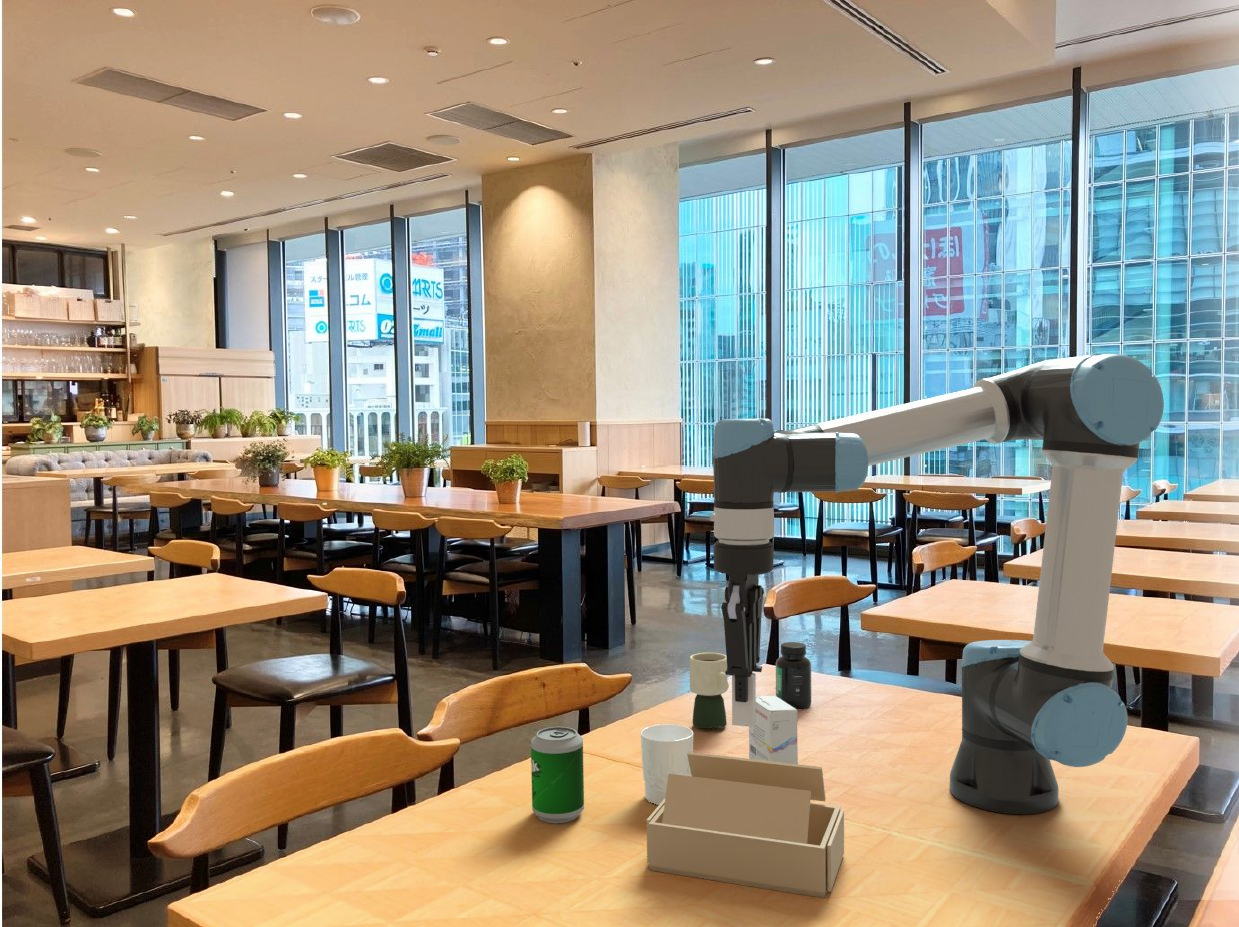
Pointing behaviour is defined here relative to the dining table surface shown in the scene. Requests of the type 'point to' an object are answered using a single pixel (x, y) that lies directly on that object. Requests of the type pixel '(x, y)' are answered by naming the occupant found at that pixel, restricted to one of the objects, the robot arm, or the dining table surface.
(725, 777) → the flap far
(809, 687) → the supplement bottle
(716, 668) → the character mug
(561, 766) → the soda can
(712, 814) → the flap near
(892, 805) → the dining table surface
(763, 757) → the ink box
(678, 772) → the white cup
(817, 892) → the carton
